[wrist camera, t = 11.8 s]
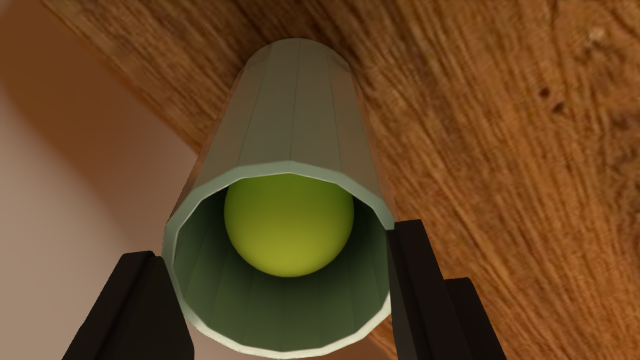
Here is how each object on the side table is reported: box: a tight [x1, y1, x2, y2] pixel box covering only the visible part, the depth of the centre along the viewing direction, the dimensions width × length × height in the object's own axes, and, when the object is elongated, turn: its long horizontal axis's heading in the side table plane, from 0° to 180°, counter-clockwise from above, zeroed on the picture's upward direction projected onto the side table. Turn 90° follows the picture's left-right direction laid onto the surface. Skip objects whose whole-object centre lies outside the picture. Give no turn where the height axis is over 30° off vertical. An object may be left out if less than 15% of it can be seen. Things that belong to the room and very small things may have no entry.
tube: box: [161, 38, 400, 360], centre depth 16 cm, size 6×6×12 cm
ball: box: [224, 173, 354, 277], centre depth 14 cm, size 4×4×4 cm
